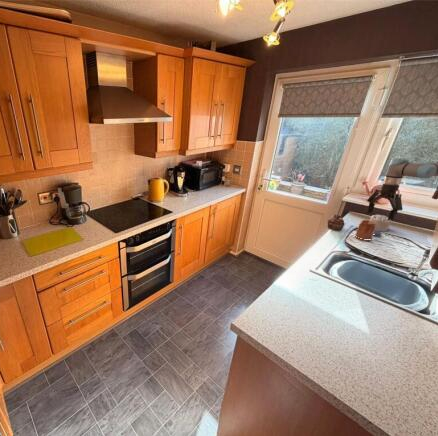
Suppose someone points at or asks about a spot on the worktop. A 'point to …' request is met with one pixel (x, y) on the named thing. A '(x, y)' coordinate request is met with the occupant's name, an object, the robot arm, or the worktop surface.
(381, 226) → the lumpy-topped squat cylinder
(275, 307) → the worktop surface
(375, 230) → the lid
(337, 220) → the cupcake
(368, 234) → the jar
